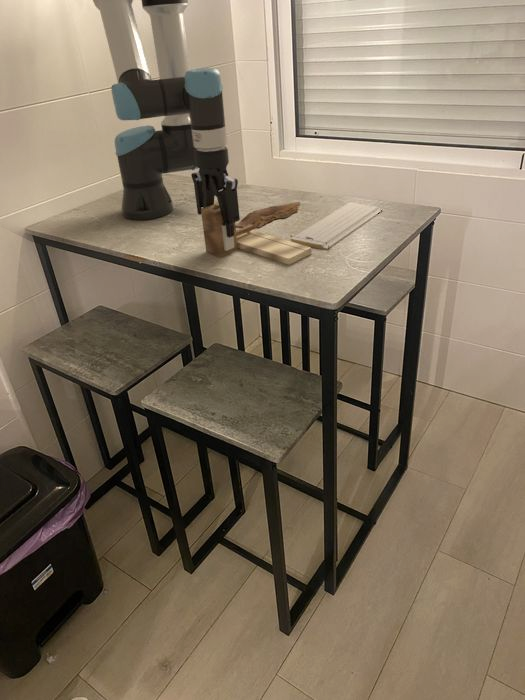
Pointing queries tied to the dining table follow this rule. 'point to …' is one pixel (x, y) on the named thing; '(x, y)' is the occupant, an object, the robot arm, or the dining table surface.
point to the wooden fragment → (268, 215)
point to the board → (272, 247)
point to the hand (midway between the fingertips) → (221, 245)
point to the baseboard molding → (336, 226)
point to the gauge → (218, 231)
